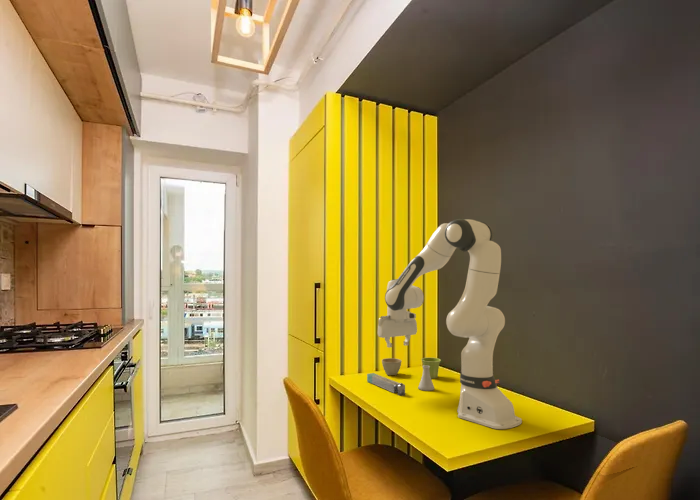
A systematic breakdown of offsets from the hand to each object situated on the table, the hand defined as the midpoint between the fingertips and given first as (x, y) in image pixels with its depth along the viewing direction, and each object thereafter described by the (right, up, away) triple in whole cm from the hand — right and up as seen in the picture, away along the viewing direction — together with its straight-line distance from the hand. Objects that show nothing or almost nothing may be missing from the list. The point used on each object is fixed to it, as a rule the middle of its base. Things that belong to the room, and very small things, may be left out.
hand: (397, 346), depth 175 cm
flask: (+12, -19, -1) cm, 23 cm away
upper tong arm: (-7, -19, +1) cm, 20 cm away
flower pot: (0, -21, +24) cm, 32 cm away
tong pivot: (0, -18, -10) cm, 21 cm away
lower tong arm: (-6, -19, +2) cm, 20 cm away
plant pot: (+19, -20, +19) cm, 34 cm away
